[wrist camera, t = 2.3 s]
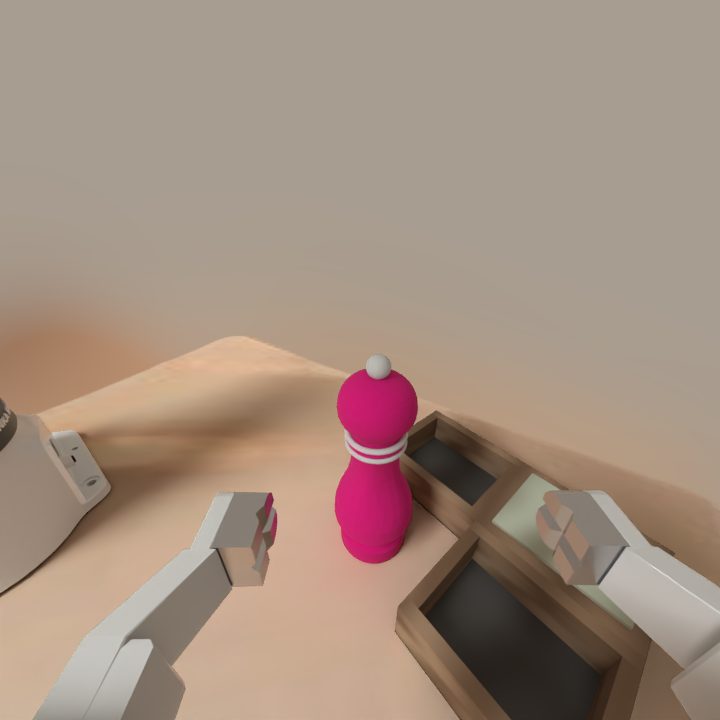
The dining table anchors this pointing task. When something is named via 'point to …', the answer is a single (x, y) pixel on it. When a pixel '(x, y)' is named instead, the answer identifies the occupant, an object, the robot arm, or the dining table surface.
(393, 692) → the dining table surface
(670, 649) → the robot arm
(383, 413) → the pepper mill
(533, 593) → the box
